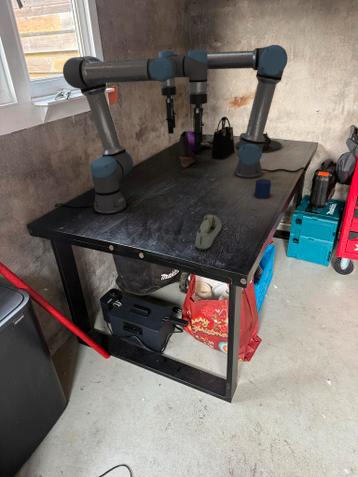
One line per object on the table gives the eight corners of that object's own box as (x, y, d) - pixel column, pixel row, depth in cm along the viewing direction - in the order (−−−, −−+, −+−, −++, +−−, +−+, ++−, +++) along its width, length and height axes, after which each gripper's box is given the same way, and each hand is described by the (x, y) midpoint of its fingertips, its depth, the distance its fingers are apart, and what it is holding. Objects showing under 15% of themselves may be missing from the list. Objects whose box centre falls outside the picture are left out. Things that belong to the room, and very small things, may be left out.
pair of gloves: (199, 151, 237) (198, 143, 234) (184, 143, 257) (184, 136, 255) (235, 144, 246) (235, 137, 244) (218, 138, 267) (218, 131, 264)
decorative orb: (204, 151, 235) (204, 129, 228) (194, 156, 225) (193, 134, 217) (186, 149, 243) (186, 128, 235) (175, 154, 232) (174, 132, 224)
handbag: (222, 159, 215) (223, 120, 203) (210, 158, 220) (210, 119, 207) (235, 151, 230) (236, 114, 218) (223, 150, 234) (224, 113, 222)
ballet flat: (225, 222, 139) (225, 205, 135) (213, 252, 119) (212, 233, 115) (205, 220, 141) (205, 203, 137) (190, 250, 121) (189, 231, 117)
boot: (197, 157, 223) (197, 126, 213) (191, 168, 203) (190, 135, 193) (185, 157, 225) (183, 126, 215) (178, 168, 205) (176, 135, 195)
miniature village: (250, 138, 260) (251, 126, 256) (289, 145, 237) (291, 132, 233) (223, 147, 242) (223, 134, 237) (263, 155, 219) (264, 141, 215)
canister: (252, 194, 164) (252, 180, 160) (264, 191, 166) (265, 178, 162) (260, 199, 158) (261, 185, 154) (272, 196, 160) (274, 182, 156)
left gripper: (206, 97, 123) (206, 153, 134) (208, 89, 144) (208, 138, 155) (186, 97, 124) (187, 153, 135) (191, 89, 145) (192, 138, 156)
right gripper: (163, 84, 173) (167, 126, 184) (158, 89, 152) (162, 136, 162) (177, 83, 173) (180, 125, 183) (174, 88, 151) (177, 135, 162)
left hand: (198, 145), depth 145 cm, fingers open, 13 cm apart
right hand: (172, 130), depth 173 cm, fingers open, 13 cm apart
